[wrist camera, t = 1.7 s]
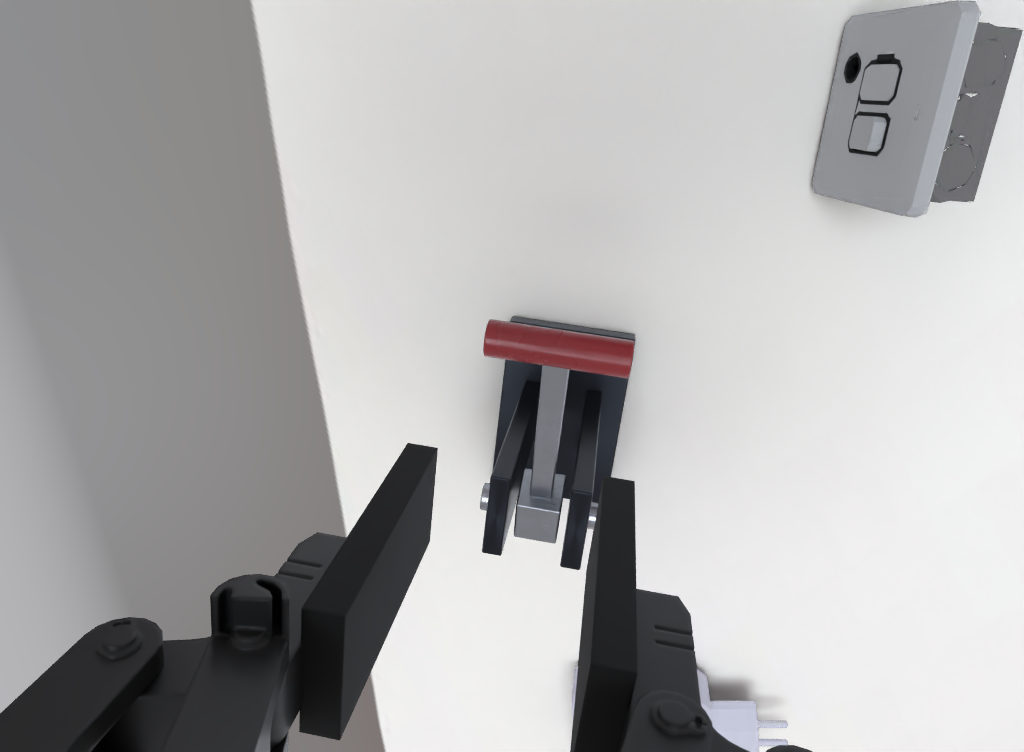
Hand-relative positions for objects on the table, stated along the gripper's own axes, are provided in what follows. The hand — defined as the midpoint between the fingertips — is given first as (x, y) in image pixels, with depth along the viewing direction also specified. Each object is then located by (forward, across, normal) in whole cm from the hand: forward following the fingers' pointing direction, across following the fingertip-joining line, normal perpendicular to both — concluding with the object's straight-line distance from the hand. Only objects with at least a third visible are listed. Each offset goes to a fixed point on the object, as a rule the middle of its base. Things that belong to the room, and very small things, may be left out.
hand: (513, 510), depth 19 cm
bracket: (+31, 0, -10) cm, 32 cm away
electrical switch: (+31, +15, +11) cm, 36 cm away
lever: (+17, 0, -5) cm, 17 cm away
